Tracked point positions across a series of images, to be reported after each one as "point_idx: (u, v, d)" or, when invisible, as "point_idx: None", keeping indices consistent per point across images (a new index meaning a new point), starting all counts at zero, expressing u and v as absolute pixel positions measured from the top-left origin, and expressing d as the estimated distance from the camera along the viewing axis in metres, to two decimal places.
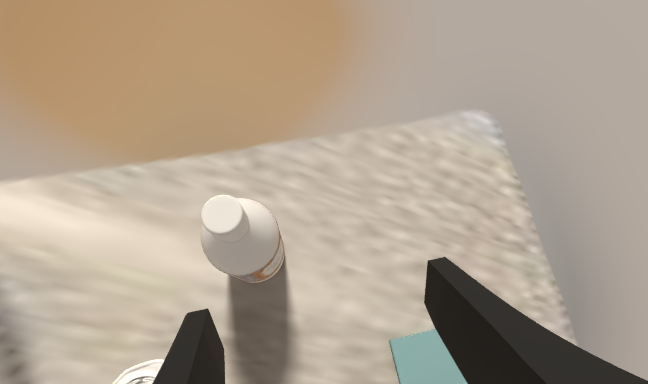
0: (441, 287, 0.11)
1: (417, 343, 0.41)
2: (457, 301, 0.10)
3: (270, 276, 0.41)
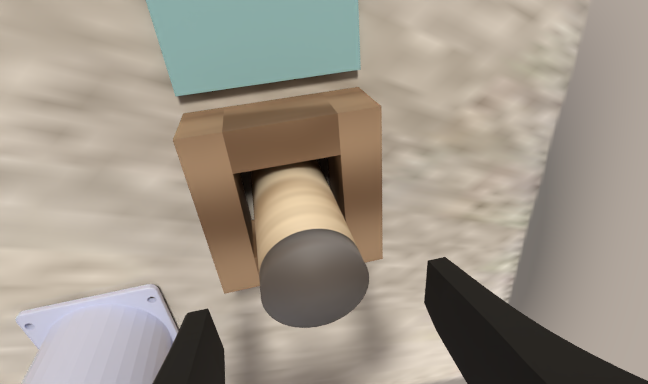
0: (441, 287, 0.11)
1: None
2: (457, 301, 0.10)
3: None
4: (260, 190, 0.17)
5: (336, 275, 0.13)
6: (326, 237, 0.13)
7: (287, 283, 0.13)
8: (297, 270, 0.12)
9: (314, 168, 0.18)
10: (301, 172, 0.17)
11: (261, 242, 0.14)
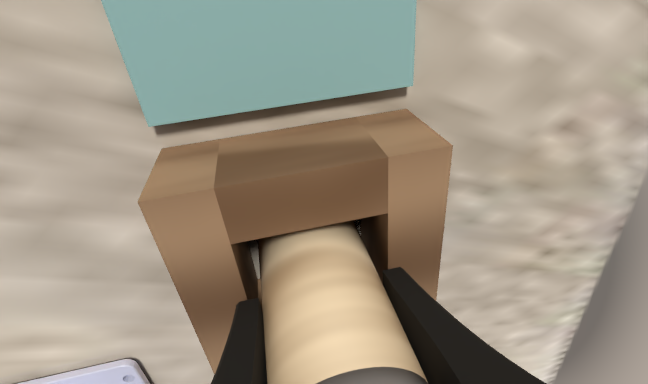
0: (393, 298, 0.11)
1: None
2: (405, 313, 0.10)
3: None
4: (270, 263, 0.12)
5: None
6: None
7: None
8: None
9: (346, 226, 0.13)
10: (330, 236, 0.12)
11: (274, 371, 0.09)
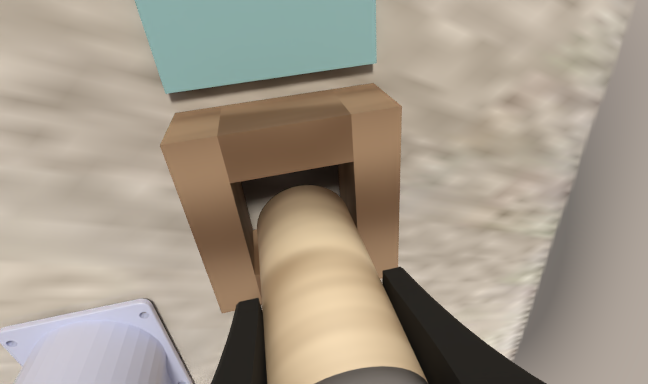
0: (393, 298, 0.11)
1: None
2: (406, 313, 0.10)
3: None
4: (270, 262, 0.12)
5: None
6: None
7: None
8: None
9: (346, 225, 0.13)
10: (330, 236, 0.12)
11: (273, 370, 0.09)
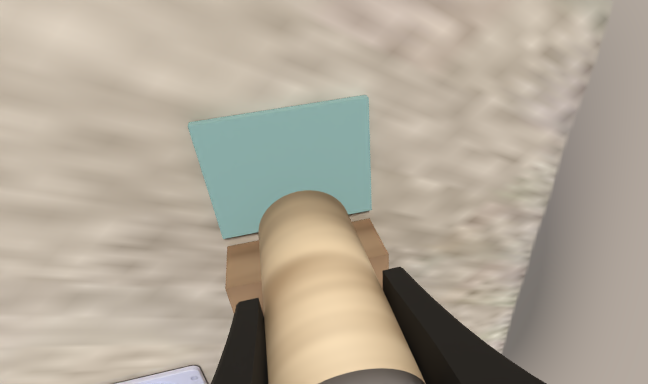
0: (393, 298, 0.11)
1: (255, 134, 0.18)
2: (406, 313, 0.10)
3: None
4: (271, 267, 0.12)
5: None
6: None
7: None
8: None
9: (345, 230, 0.13)
10: (330, 241, 0.12)
11: (274, 373, 0.09)
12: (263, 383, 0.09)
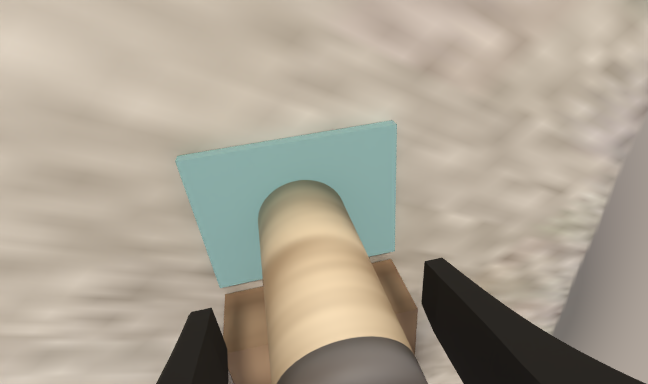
0: (438, 288, 0.11)
1: (258, 169, 0.15)
2: (454, 302, 0.10)
3: None
4: (270, 251, 0.13)
5: None
6: (374, 355, 0.08)
7: None
8: None
9: (340, 216, 0.14)
10: (325, 226, 0.13)
11: (275, 344, 0.10)
12: None
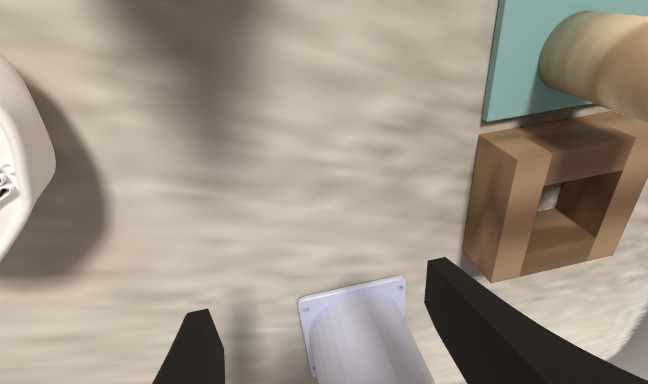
0: (441, 287, 0.11)
1: None
2: (457, 301, 0.10)
3: None
4: (612, 38, 0.15)
5: None
6: None
7: None
8: None
9: None
10: None
11: None
12: None
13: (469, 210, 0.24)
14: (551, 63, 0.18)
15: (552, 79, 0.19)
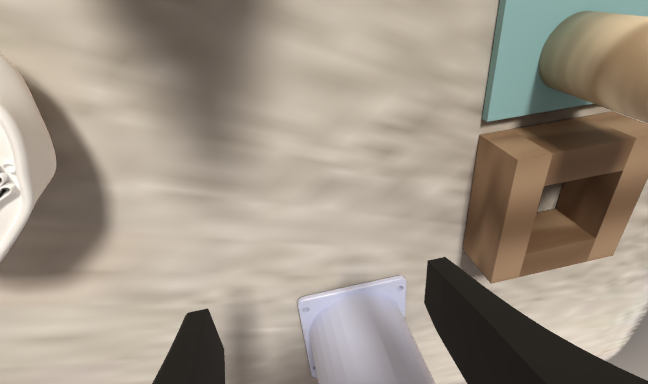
0: (441, 287, 0.11)
1: None
2: (457, 301, 0.10)
3: None
4: (613, 38, 0.15)
5: None
6: None
7: None
8: None
9: None
10: None
11: None
12: None
13: (469, 210, 0.24)
14: (551, 63, 0.18)
15: (552, 79, 0.19)
